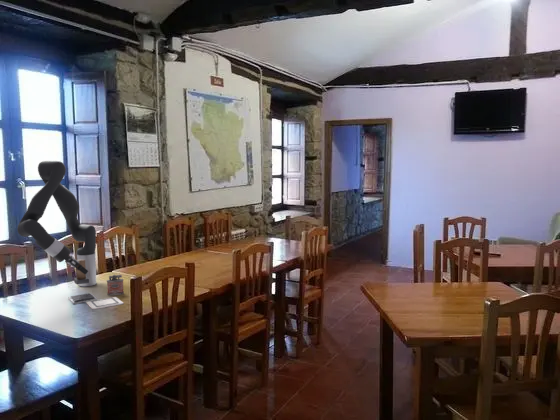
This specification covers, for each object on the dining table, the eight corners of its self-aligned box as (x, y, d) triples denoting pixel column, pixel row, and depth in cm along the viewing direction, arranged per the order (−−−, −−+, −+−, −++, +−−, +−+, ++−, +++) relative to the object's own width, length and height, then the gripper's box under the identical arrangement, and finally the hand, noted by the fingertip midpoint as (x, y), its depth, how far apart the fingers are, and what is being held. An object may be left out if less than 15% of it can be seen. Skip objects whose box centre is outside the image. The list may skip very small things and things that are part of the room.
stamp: (74, 282, 224) (73, 260, 223) (86, 280, 227) (85, 258, 226) (76, 284, 219) (75, 262, 218) (89, 282, 223) (88, 260, 222)
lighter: (107, 295, 231) (106, 276, 230) (107, 293, 234) (106, 274, 233) (123, 294, 233) (122, 275, 232) (124, 292, 237) (123, 273, 235)
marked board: (86, 303, 219) (86, 301, 219) (115, 297, 227) (115, 296, 227) (92, 309, 209) (92, 307, 209) (123, 303, 217) (123, 302, 217)
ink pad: (68, 298, 226) (68, 296, 225) (91, 295, 232) (91, 292, 232) (73, 304, 217) (73, 301, 217) (97, 300, 223) (97, 297, 223)
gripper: (66, 246, 211) (94, 268, 220) (60, 242, 223) (87, 263, 231) (54, 259, 209) (83, 280, 217) (48, 254, 220) (76, 275, 228)
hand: (85, 271), depth 224 cm, fingers closed on stamp, 4 cm apart
